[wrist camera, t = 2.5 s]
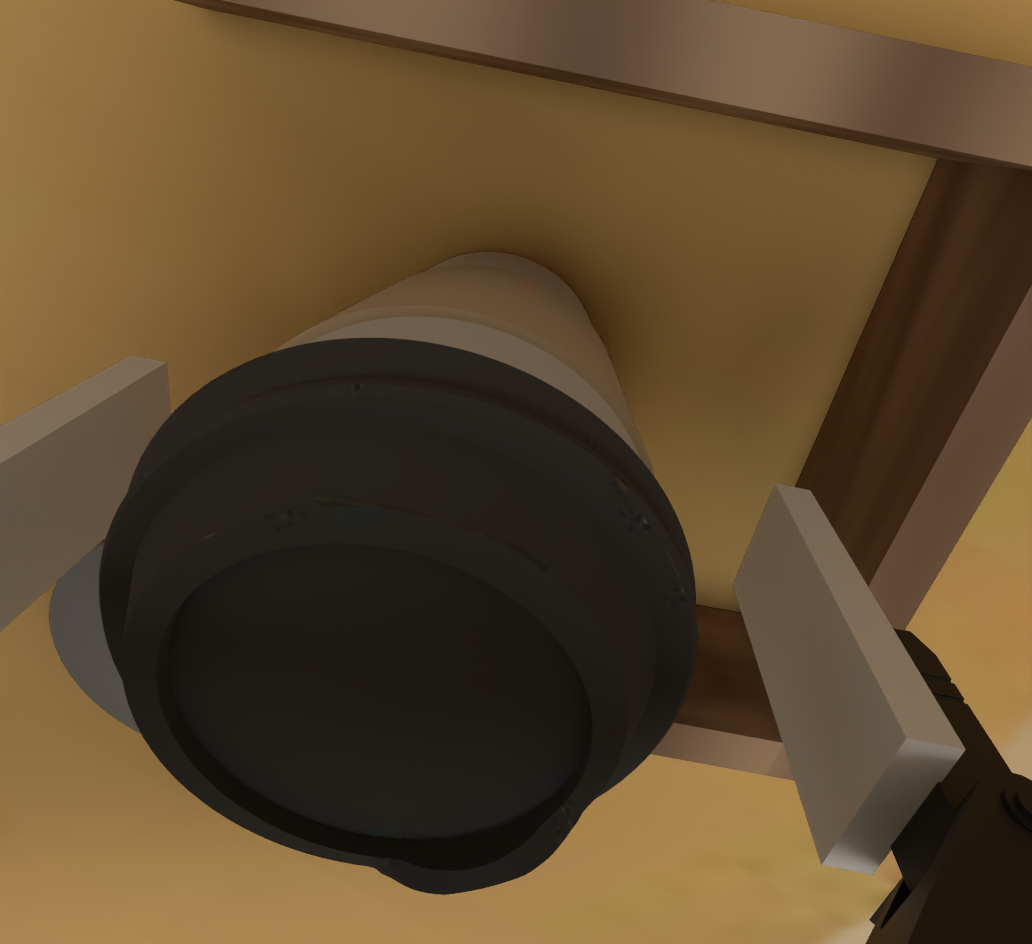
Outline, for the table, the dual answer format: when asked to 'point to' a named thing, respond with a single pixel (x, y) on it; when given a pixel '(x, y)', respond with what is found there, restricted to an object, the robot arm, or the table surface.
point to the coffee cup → (407, 582)
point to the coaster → (87, 637)
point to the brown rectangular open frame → (901, 303)
